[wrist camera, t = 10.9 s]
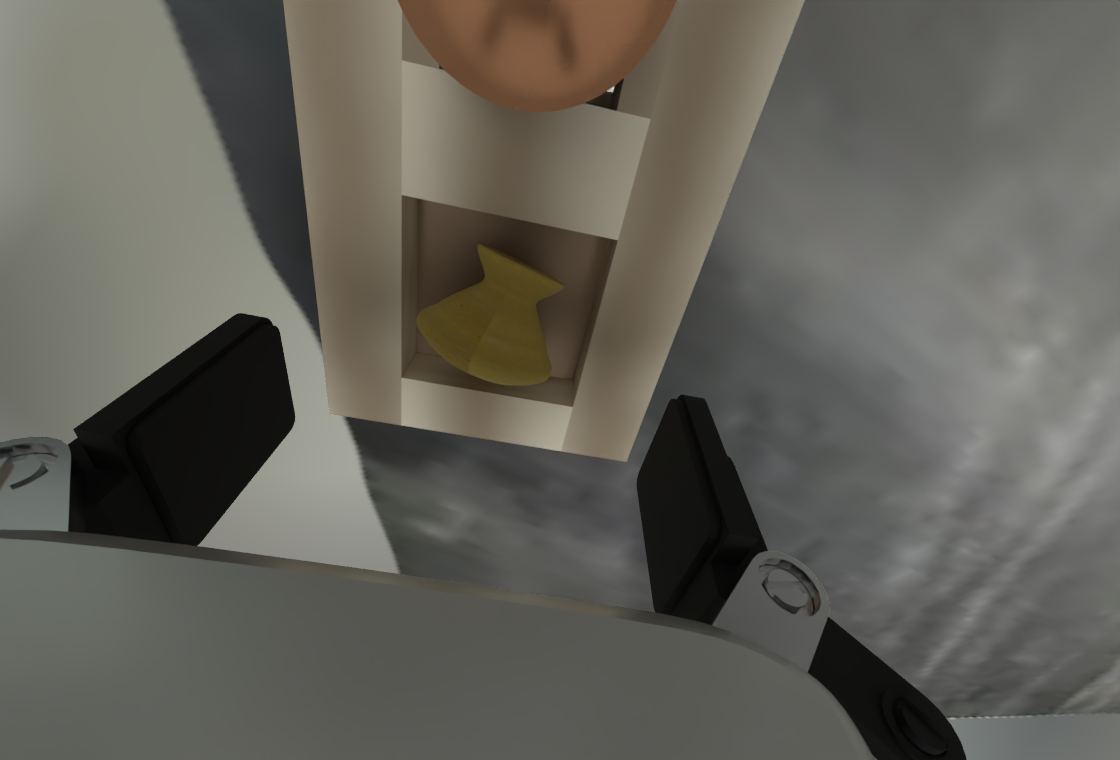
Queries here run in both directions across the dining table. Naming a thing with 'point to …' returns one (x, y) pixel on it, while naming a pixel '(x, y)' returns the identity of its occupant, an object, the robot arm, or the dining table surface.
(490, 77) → the plunger
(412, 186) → the mount
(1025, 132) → the dining table surface
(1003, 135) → the dining table surface
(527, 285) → the knob
